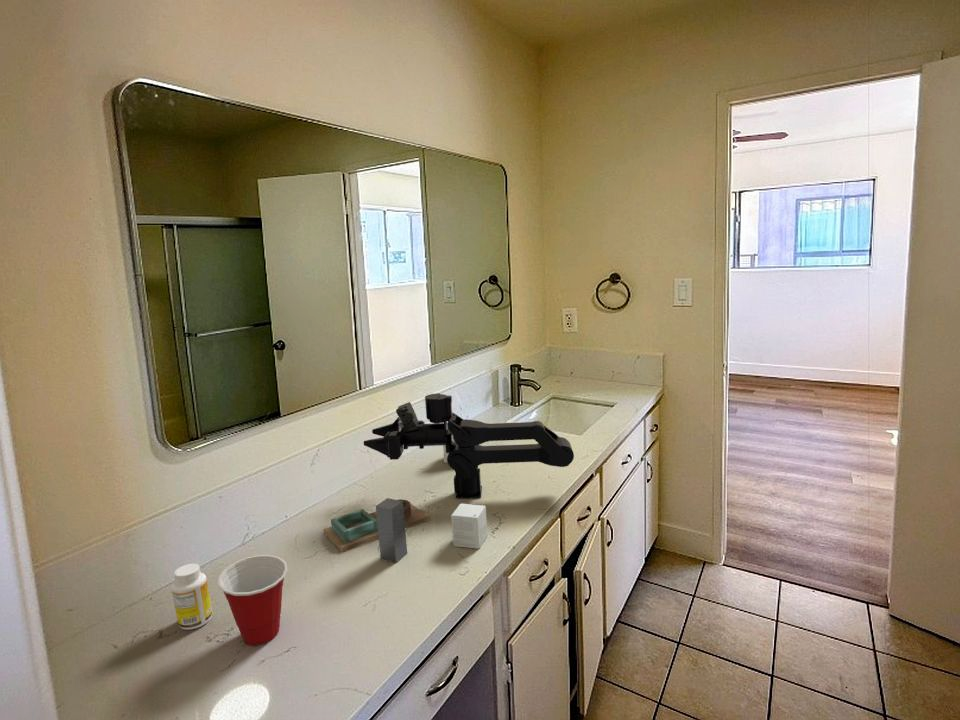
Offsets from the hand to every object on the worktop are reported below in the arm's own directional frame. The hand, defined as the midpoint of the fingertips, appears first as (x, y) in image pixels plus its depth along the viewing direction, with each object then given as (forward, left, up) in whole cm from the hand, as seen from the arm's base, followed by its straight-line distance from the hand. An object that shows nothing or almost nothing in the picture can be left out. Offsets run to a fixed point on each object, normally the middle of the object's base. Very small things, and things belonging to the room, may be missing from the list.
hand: (368, 437), depth 144 cm
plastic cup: (+7, +54, -17) cm, 57 cm away
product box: (-27, +24, -17) cm, 40 cm away
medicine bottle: (-20, -25, -17) cm, 36 cm away
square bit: (-11, +30, -17) cm, 36 cm away
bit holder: (-5, +16, -16) cm, 24 cm away
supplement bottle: (+21, +50, -17) cm, 57 cm away
